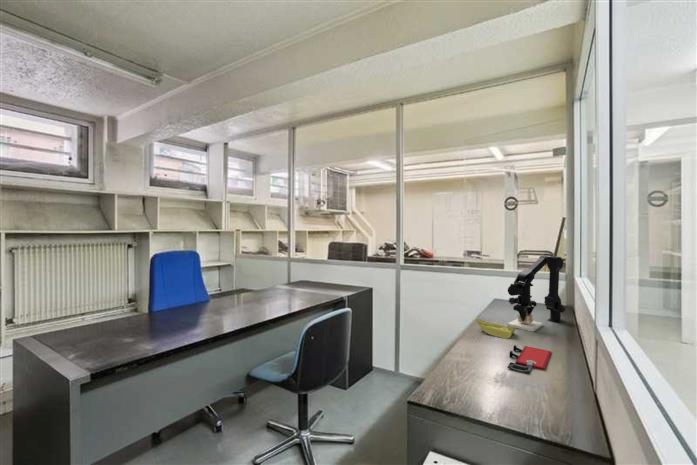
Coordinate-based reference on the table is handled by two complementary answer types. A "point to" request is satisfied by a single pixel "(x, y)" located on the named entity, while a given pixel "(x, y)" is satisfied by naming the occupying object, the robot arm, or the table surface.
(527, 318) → the collar
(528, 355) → the red board with handle
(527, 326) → the post plate
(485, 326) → the plastic component
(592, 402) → the table surface
